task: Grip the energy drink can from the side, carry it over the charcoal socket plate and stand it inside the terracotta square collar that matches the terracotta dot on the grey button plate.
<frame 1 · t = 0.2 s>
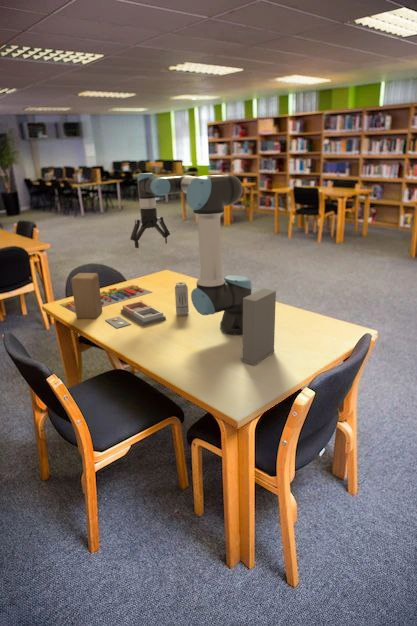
hand: (151, 252, 212), 27 cm above the table, tool pointing down, fingers open, 13 cm apart
socket plate: (142, 315, 209), on the table
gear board: (107, 299, 235), on the table
wooden block: (89, 315, 212), on the table
grey button plate: (117, 322, 202), on the table
upright grey panel: (257, 357, 167), on the table
energy drink can: (182, 314, 210), on the table
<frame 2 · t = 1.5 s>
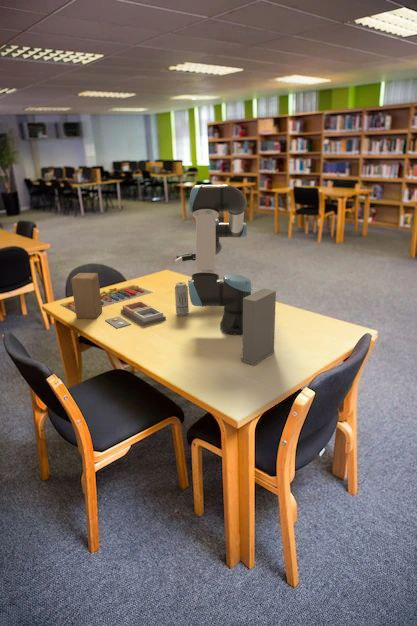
hand: (188, 263, 210), 22 cm above the table, tool horizontal, fingers open, 13 cm apart
nothing on the table moved.
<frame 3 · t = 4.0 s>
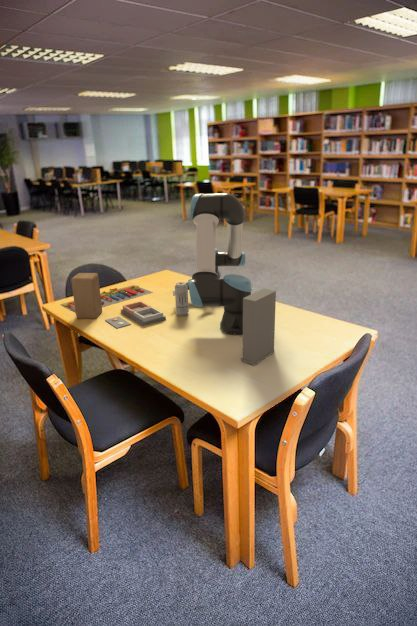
hand: (186, 294, 212), 8 cm above the table, tool horizontal, fingers open, 13 cm apart
nothing on the table moved.
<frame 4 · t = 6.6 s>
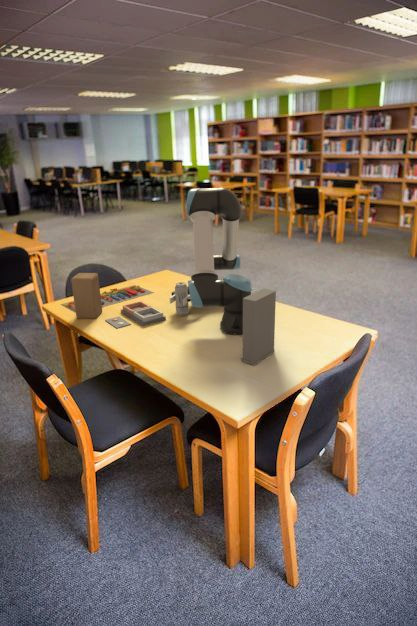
hand: (176, 301, 203), 8 cm above the table, tool horizontal, fingers closed on energy drink can, 6 cm apart
energy drink can: (182, 314, 210), on the table, touching gripper
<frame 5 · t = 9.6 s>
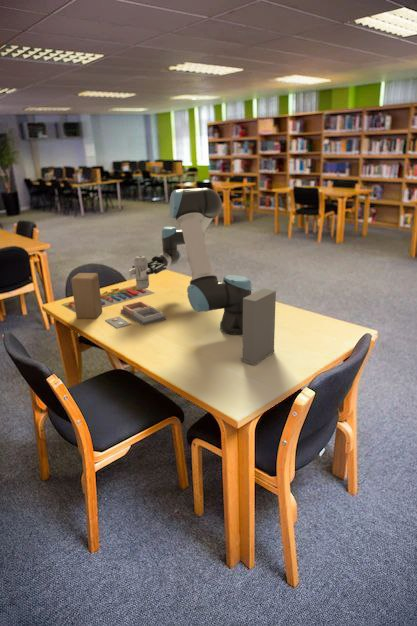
hand: (135, 274, 202), 20 cm above the table, tool horizontal, fingers closed on energy drink can, 6 cm apart
energy drink can: (143, 287, 210), point 12 cm above the table, touching gripper
when the fingers open (10 cm above the table, at t = 12.9 s): energy drink can stays where it is, resting on socket plate.
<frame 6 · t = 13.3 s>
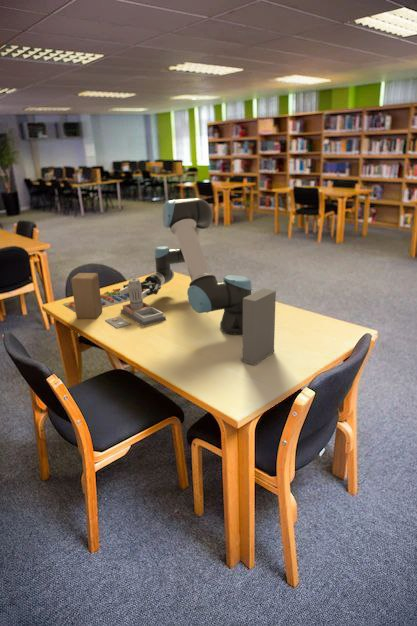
hand: (131, 294, 206), 10 cm above the table, tool horizontal, fingers open, 11 cm apart
energy drink can: (137, 310, 213), point 1 cm above the table, touching socket plate
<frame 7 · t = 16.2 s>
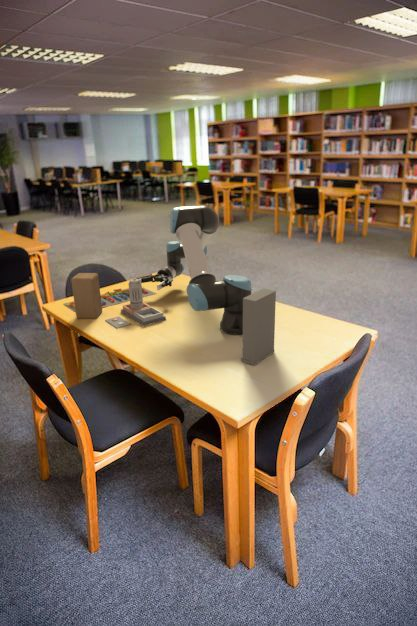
hand: (145, 286, 217), 11 cm above the table, tool horizontal, fingers open, 13 cm apart
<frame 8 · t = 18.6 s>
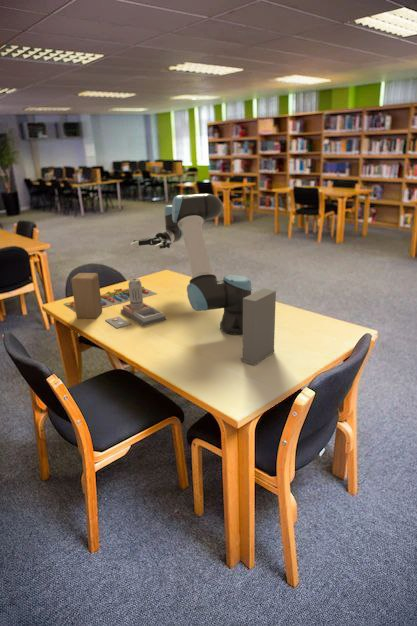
hand: (143, 247, 211), 30 cm above the table, tool horizontal, fingers open, 13 cm apart
at the end: energy drink can 0.1 cm from the target spot on the socket plate, point 1.3 cm above the socket plate's base; energy drink can tilted 0°; the gripper is holding nothing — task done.
